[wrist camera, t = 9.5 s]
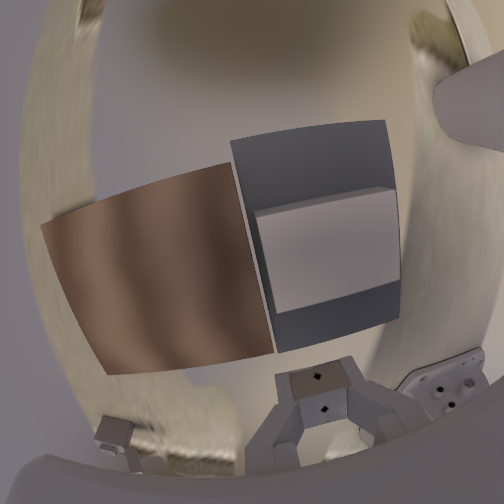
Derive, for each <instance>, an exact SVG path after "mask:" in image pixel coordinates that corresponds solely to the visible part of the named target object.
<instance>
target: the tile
mask: <svg viewBox="0 0 504 504" xmlns="http://www.w3.org/2000/svg"><path fill="white" fill-rule="evenodd" d="M254 215H255V220H256V224H257V229H258V233H259V238H260V242H261V247H262V251H263V256H264V260H265V265H266V270H267V274H268V279H269V283H270V288H271V293H272V297H273V301H274V305H275V308H276V312H277V313H281V312H286V311H290V310H294V309H298V308H302V307H306V306H310V305H314V304H317V303H321V302H325V301H329V300H332V299H336V298H340V297H343V296H347V295H350V294H354V293H357V292H360V291H364V290H367V289H371V288H374V287H377V286H380V285H383V284H387V283H390V282H393V281H396V280H399V279H400V250H399V228H398V214H397V202H396V193H395V190H394V189H390V188H385V187H380V186H377V187H372V188H366V189H361V190H355V191H350V192H344V193H339V194H334V195H329V196H324V197H319V198H314V199H309V200H304V201H299V202H294V203H290V204H285V205H280V206H276V207H271V208H267V209H262V210H258V211H254Z"/></svg>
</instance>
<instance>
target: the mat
mask: <svg viewBox="0 0 504 504" xmlns="http://www.w3.org/2000/svg"><path fill="white" fill-rule="evenodd" d="M230 144H231V148H232V152H233V157H234V161H235V166H236V170H237V174H238V178H239V183H240V187H241V192H242V196H243V201H244V205H245V209H246V213H247V218H248V223H249V227H250V231H251V236H252V240H253V244H254V248H255V253H256V258H257V262H258V266H259V271H260V275H261V280H262V284H263V289H264V293H265V298H266V302H267V306H268V310H269V315H270V320H271V324H272V328H273V333H274V337H275V342H276V347H277V351H278V353H282V352H286V351H291V350H295V349H299V348H303V347H307V346H311V345H314V344H318V343H321V342H325V341H329V340H332V339H335V338H339V337H343V336H346V335H349V334H352V333H355V332H359V331H362V330H365V329H368V328H371V327H374V326H377V325H380V324H383V323H386V322H388V321H391V320H394V319H397V318H399V309H400V282H401V256H400V279H399V280H396V281H393V282H390V283H387V284H383V285H380V286H377V287H374V288H371V289H367V290H364V291H360V292H357V293H354V294H350V295H347V296H343V297H340V298H336V299H332V300H329V301H325V302H321V303H317V304H314V305H310V306H306V307H302V308H298V309H294V310H290V311H286V312H281V313H277V312H276V308H275V305H274V301H273V297H272V293H271V288H270V283H269V279H268V274H267V270H266V265H265V260H264V256H263V251H262V247H261V242H260V238H259V233H258V229H257V224H256V220H255V215H254V211H258V210H262V209H267V208H271V207H276V206H280V205H285V204H290V203H294V202H299V201H304V200H309V199H314V198H319V197H324V196H329V195H334V194H339V193H344V192H350V191H355V190H361V189H366V188H372V187H377V186H380V187H385V188H390V189H394V190H395V193H396V202H397V192H396V184H395V176H394V168H393V161H392V155H391V149H390V143H389V138H388V133H387V128H386V123H385V120H371V121H357V122H345V123H335V124H326V125H318V126H310V127H303V128H296V129H290V130H284V131H278V132H272V133H267V134H262V135H257V136H251V137H246V138H242V139H237V140H232V141H230ZM397 214H398V203H397ZM398 228H399V214H398ZM399 250H400V229H399Z"/></svg>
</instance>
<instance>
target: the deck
mask: <svg viewBox="0 0 504 504" xmlns="http://www.w3.org/2000/svg"><path fill="white" fill-rule="evenodd" d="M40 227H41V230H42V233H43V237H44V240H45V243H46V246H47V249H48V252H49V255H50V258H51V260H52V263H53V266H54V269H55V271H56V274H57V276H58V279H59V281H60V284H61V286H62V289H63V291H64V293H65V296H66V298H67V300H68V302H69V305H70V307H71V309H72V311H73V313H74V315H75V317H76V319H77V321H78V323H79V325H80V327H81V329H82V331H83V333H84V335H85V337H86V339H87V341H88V343H89V344H90V346H91V348H92V350H93V352H94V353H95V355H96V357H97V359H98V360H99V362H100V364H101V365H102V367H103V369H104V370H105V372H106V373H107V375H121V374H136V373H148V372H158V371H168V370H177V369H185V368H192V367H199V366H206V365H212V364H219V363H225V362H230V361H236V360H241V359H247V358H251V357H256V356H261V355H266V354H271V353H274V350H273V345H272V340H271V336H270V332H269V327H268V323H267V318H266V314H265V310H264V306H263V301H262V297H261V293H260V289H259V284H258V280H257V276H256V271H255V267H254V263H253V258H252V254H251V249H250V245H249V241H248V237H247V232H246V228H245V224H244V219H243V215H242V211H241V207H240V203H239V198H238V193H237V189H236V185H235V180H234V176H233V172H232V168H231V163H230V162H228V163H224V164H220V165H216V166H212V167H208V168H204V169H200V170H196V171H192V172H189V173H185V174H181V175H178V176H174V177H171V178H168V179H164V180H161V181H157V182H154V183H151V184H148V185H145V186H141V187H139V188H135V189H133V190H129V191H126V192H124V193H120V194H118V195H115V196H112V197H109V198H106V199H104V200H101V201H98V202H95V203H93V204H90V205H88V206H85V207H82V208H80V209H77V210H75V211H72V212H70V213H68V214H65V215H63V216H60V217H58V218H56V219H53V220H51V221H49V222H46V223H44V224H42V225H40Z"/></svg>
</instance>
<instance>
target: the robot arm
mask: <svg viewBox="0 0 504 504" xmlns="http://www.w3.org/2000/svg"><path fill="white" fill-rule="evenodd" d="M484 359H485V354H484V351H483V349H482V348H481V347H480V348H477V349H474V350H472V351H470V352H467V353H465V354H462V355H460V356H457V357H454V358H452V359H449V360H446V361H443V362H440V363H438V364H435V365H432V366H429V367H426V368H422V369H419V370H416V371H414V372H412V373H411V374H410V375H409V376H408V377H407V378H406V379H405V380H404V382H403V383H402V384H401V385H400V387H399V388H398V389H397V390H396V391H394V390H392V389H389V388H387V387H384V386H382V385H380V384H377V383H375V382H373V381H370V380H368V381H365V379H364V377H363V375H362V374H361V372H360V370H359V368H358V366H357V365H356V363H355V361H354V359H353V358H352V356H347V357H344V358H340V359H338V360H335V361H331V362H327V363H324V364H320V365H317V366H312V367H308V368H303V369H299V370H294V371H289V372H285V373H280V374H275V381H276V388H277V394H278V401H279V404H277V405H275V406H274V407H273V409H272V410H271V412H270V413H269V415H268V416H267V418H266V419H265V420H264V422H263V423H262V425H261V426H260V428H259V429H258V431H257V432H256V433H255V435H254V436H253V437H252V439H251V440H250V441H249V443H248V444H247V445H246V447H245V475H244V476H231V477H206V478H191V477H165V476H153V475H143V474H135V473H127V472H121V471H115V470H110V469H104V468H99V467H95V466H90V465H86V464H82V463H78V462H74V461H71V460H67V459H64V458H61V457H57V456H54V455H50V454H43V455H40V456H39V457H37V458H35V459H34V460H32V461H30V462H29V463H27V464H26V465H24V466H23V467H22V468H21V469H20V470H19V472H18V474H17V476H16V478H15V480H14V482H13V485H12V487H11V489H10V492H9V494H8V497H7V500H6V503H5V504H504V376H502V377H501V378H500V379H498V380H497V381H496V382H494V383H493V384H492V385H490V386H489V383H488V381H487V379H486V377H485V375H484V374H483V372H482V368H483V364H484ZM288 373H289V374H288ZM344 418H347V419H349V420H350V421H352V422H353V423H355V424H356V425H358V426H359V427H360V431H359V437H360V439H361V440H362V441H363V442H364V443H365V444H366V445H367V446H368V447H369V449H366V450H363V451H360V452H357V453H354V454H351V455H347V456H344V457H340V458H337V459H333V460H330V461H326V462H322V463H318V464H313V465H309V466H304V467H300V463H299V458H298V453H297V449H296V447H297V445H298V443H299V441H300V439H301V436H302V434H303V432H304V429H307V428H310V427H314V426H318V425H321V424H325V423H329V422H332V421H336V420H341V419H344Z"/></svg>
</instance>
